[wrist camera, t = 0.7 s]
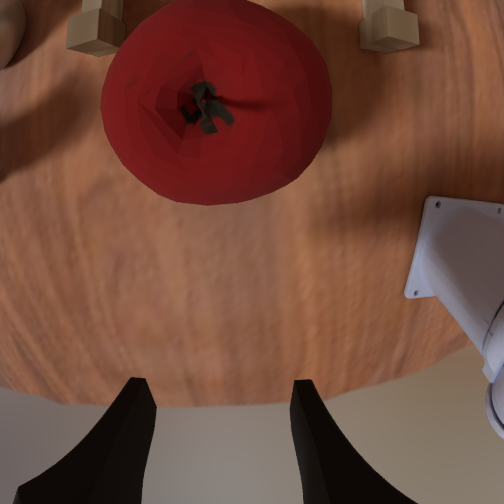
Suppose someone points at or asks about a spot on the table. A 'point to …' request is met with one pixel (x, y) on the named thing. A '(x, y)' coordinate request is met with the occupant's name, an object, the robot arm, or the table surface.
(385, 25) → the corral
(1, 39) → the plastic bottle
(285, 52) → the apple
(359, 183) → the table surface
